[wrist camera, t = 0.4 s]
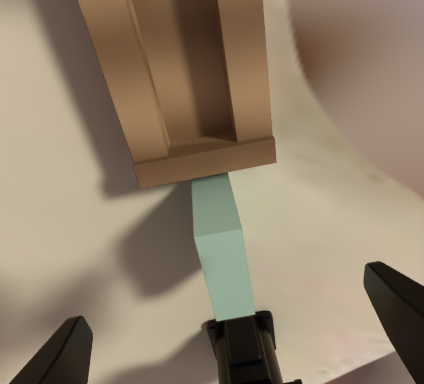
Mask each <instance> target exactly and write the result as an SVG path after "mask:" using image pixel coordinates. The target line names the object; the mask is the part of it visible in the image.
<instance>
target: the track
mask: <svg viewBox="0 0 424 384" xmlns="http://www.w3.org/2000/svg"><path fill="white" fill-rule="evenodd" d="M78 3H79V6H80V8H81V11H82V14H83V17H84V20H85V23H86V26H87V29H88V31H89V34H90V37H91V40H92V43H93V46H94V49H95V52H96V54H97V57H98V60H99V63H100V66H101V69H102V72H103V75H104V77H105V80H106V83H107V86H108V89H109V92H110V95H111V98H112V101H113V103H114V106H115V109H116V112H117V115H118V118H119V121H120V124H121V126H122V129H123V132H124V135H125V138H126V141H127V144H128V147H129V149H130V152H131V155H132V158H133V161H134V164H133V168H134V171H135V174H136V177H137V180H138V183H139V186H140V188H141V189H142V188H147V187H152V186H158V185H163V184H168V183H173V182H178V181H184V180H189V179H194V178H199V177H204V176H210V175H215V174H220V173H225V172H231V171H236V170H241V169H246V168H251V167H257V166H262V165H267V164H272V163H276V150H275V138H274V137H273V135H272V122H271V108H270V94H269V80H268V67H267V53H266V39H265V25H264V11H263V0H78Z"/></svg>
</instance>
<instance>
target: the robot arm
mask: <svg viewBox="0 0 424 384" xmlns="http://www.w3.org/2000/svg"><path fill="white" fill-rule="evenodd" d="M363 283H364V288H365V290H366V292H367V294H368V296H369V299H370V301H371V303H372V305H373V307H374V309H375V311H376V313H377V315H378V318H379V320H380V322H381V324H382V326H383V328H384V330H385V332H386V334H387V336H388V338H389V340H390V341H391V343H392V345H393V346H394V348H395V350H396V351H397V353H398V355H399V356H400V358H401V360H402V361H403V363H404V365H405V366H406V368H407V369H408V371H409V373H410V374H411V376H412V378H413V379H414V381H415V383H416V384H424V286H422V285H421V284H419V283H417V282H416V281H414V280H412V279H410V278H409V277H407V276H405V275H403V274H402V273H400V272H398V271H396V270H395V269H393V268H391V267H389V266H388V265H386V264H384V263H382V262H380V261H376V262H371V263H367V264H366V265H365V271H364V281H363ZM207 330H208V334H209V337H210V340H211V344H212V347H213V350H214V353H215V357H216V360H217V366H218V376H219V384H302V381H301V379H297V380H294V381H293V382H287V383H283V380H282V376H281V372H280V369H279V365H278V361H277V357H276V353H275V350H276V344H275V335H274V326H273V317H272V313H271V312H270V311H264V312H258V313H255V315H249V316H244V317H238V318H232V319H227V320H221V321H216V320H214V321H209V322H208V323H207ZM92 341H93V333H92V330H91V329H90V327H89V325H88V324H87V322H86V320H85V319H84V317H83V316H74V317H70V318H68V319H67V320H66V321H65V322H64V323H63V324H62V325H61V326H60V327H59V328H58V330H57V331H56V332H55V333H54V334H53V335H52V336H51V337H50V338H49V340H48V341H47V342H46V343H45V344H44V345H43V346H42V347H41V349H40V350H39V351H38V352H37V353H36V354H35V355H34V356H33V357H32V359H31V360H30V361H29V362H28V363H27V364H26V365H25V366H24V367H23V369H22V370H21V371H20V372H19V373H18V374H17V375H16V376H15V377H14V379H13V380H12V381H11V382H10V383H9V384H87V383H88V375H89V366H90V358H91V350H92Z"/></svg>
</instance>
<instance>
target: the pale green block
mask: <svg viewBox="0 0 424 384" xmlns="http://www.w3.org/2000/svg"><path fill="white" fill-rule="evenodd" d="M191 181H192V205H193V229H194V240H195V244H196V247H197V251H198V255H199V259H200V262H201V266H202V270H203V273H204V277H205V281H206V285H207V288H208V292H209V296H210V299H211V303H212V307H213V310H214V314H215V318H216V321H221V320H227V319H232V318H238V317H244V316H249V315H255V308H254V301H253V295H252V289H251V282H250V276H249V269H248V263H247V257H246V250H245V244H244V237H243V231H242V226H241V222H240V218H239V215H238V211H237V207H236V203H235V199H234V195H233V192H232V188H231V184H230V180H229V176H228V172H225V173H220V174H215V175H210V176H204V177H199V178H194V179H191Z"/></svg>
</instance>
